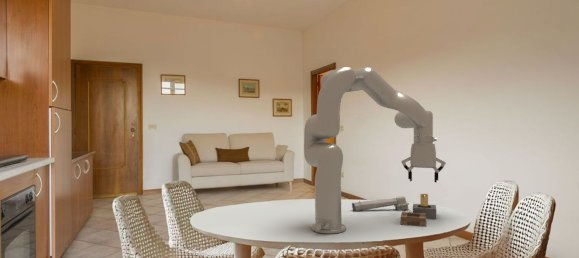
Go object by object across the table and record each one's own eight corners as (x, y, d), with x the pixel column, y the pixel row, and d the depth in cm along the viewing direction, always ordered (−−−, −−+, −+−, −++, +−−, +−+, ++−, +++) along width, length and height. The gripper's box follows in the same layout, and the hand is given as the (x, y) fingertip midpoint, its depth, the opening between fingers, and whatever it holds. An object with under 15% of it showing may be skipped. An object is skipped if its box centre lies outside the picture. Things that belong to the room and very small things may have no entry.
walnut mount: (425, 226, 137) (425, 218, 137) (400, 224, 140) (400, 216, 140) (425, 220, 145) (425, 213, 145) (402, 219, 148) (401, 211, 148)
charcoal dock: (436, 219, 147) (436, 209, 147) (412, 217, 150) (412, 207, 150) (435, 214, 156) (435, 204, 156) (413, 213, 159) (413, 203, 159)
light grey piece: (351, 201, 168) (404, 192, 169) (353, 215, 168) (406, 207, 169) (353, 203, 162) (408, 194, 163) (355, 218, 162) (411, 209, 163)
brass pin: (428, 217, 151) (428, 195, 151) (420, 216, 152) (420, 194, 152) (428, 215, 154) (428, 194, 154) (420, 215, 155) (420, 193, 155)
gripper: (445, 140, 154) (445, 181, 154) (401, 140, 160) (401, 179, 160) (446, 140, 147) (446, 183, 147) (400, 140, 153) (400, 181, 153)
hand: (423, 181), depth 153 cm, fingers open, 9 cm apart
